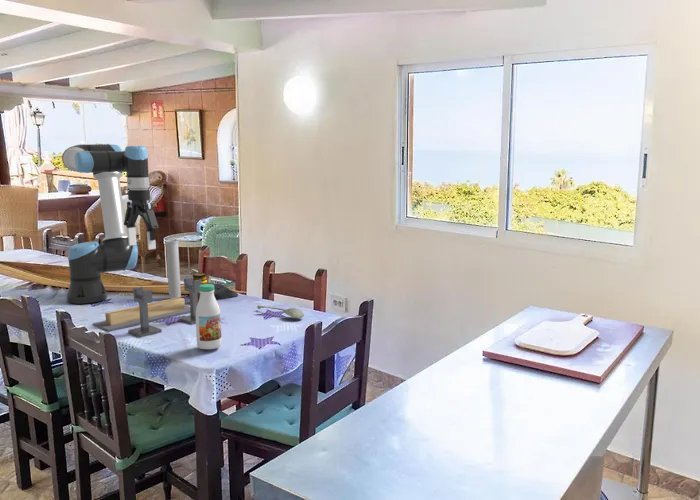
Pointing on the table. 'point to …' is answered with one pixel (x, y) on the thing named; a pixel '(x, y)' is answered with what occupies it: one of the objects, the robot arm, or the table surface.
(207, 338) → the milk bottle
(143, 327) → the standards
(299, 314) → the soupspoon
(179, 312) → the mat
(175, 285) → the tube
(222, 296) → the dark slate chunk
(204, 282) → the condiment
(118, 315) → the hang bar
